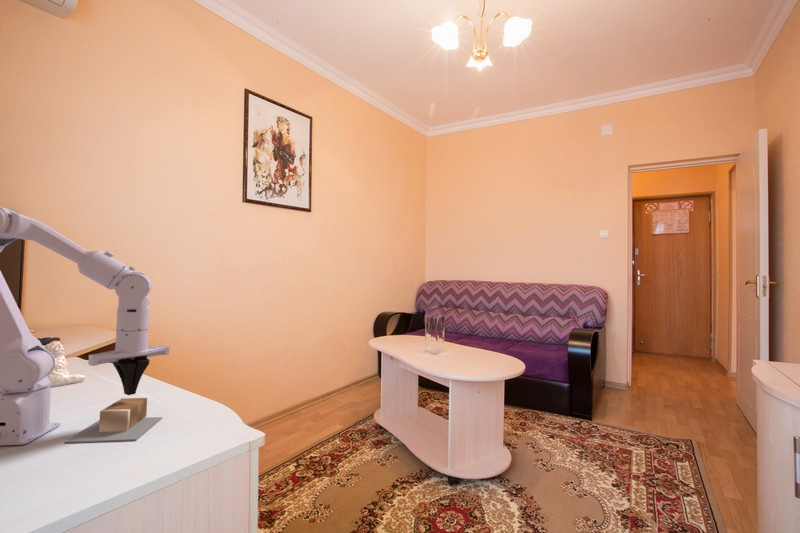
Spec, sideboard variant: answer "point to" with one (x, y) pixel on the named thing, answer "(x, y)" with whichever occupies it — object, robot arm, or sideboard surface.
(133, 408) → the walnut block
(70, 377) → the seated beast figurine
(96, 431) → the slate rubber mat
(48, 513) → the sideboard surface
